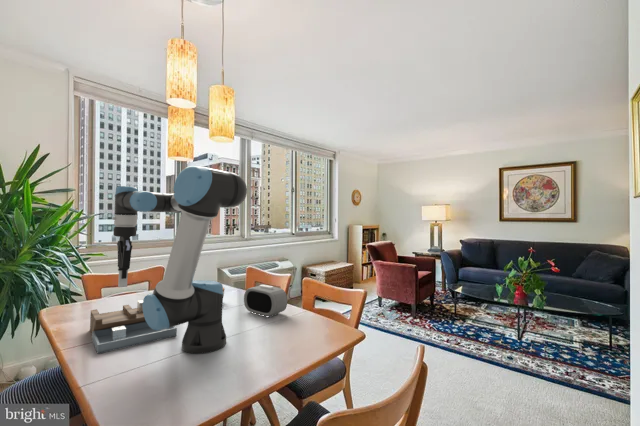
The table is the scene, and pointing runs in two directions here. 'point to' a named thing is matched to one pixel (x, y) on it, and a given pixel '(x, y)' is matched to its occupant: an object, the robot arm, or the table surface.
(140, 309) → the right block
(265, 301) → the alarm clock
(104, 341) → the tray
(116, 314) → the slot board
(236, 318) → the table surface
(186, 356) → the table surface
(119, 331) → the left block
